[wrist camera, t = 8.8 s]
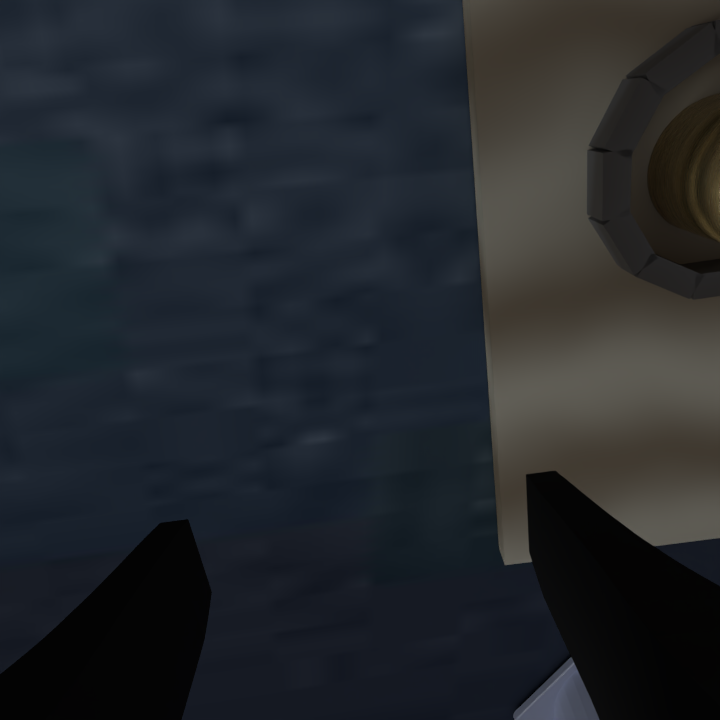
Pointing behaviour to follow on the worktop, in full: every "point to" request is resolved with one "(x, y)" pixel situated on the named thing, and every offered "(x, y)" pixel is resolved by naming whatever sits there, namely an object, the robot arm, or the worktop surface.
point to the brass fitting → (689, 170)
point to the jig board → (594, 261)
